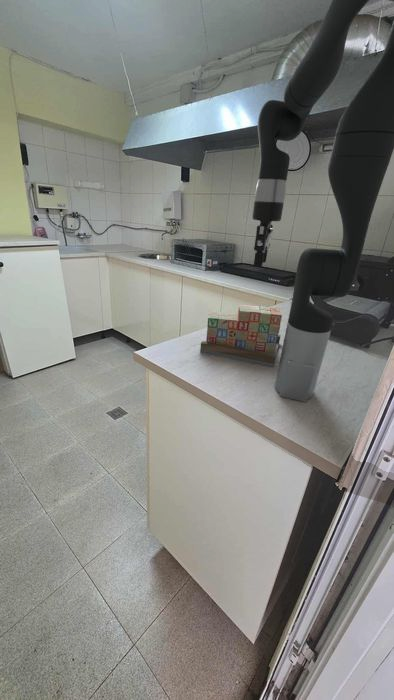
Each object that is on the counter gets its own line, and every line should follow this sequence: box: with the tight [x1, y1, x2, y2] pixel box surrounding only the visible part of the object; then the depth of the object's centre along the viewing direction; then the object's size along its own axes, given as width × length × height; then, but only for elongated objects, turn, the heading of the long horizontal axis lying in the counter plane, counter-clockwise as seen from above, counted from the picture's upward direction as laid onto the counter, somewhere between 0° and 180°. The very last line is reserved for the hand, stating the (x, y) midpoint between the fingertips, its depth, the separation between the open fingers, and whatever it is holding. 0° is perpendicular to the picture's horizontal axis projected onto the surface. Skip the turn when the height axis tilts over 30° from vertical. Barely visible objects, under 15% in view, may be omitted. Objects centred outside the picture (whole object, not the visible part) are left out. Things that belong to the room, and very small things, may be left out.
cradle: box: [199, 334, 282, 368], centre depth 90 cm, size 17×22×3 cm
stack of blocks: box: [205, 304, 283, 352], centre depth 88 cm, size 21×6×12 cm, turn 83°
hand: (259, 264), depth 81 cm, fingers open, 8 cm apart
